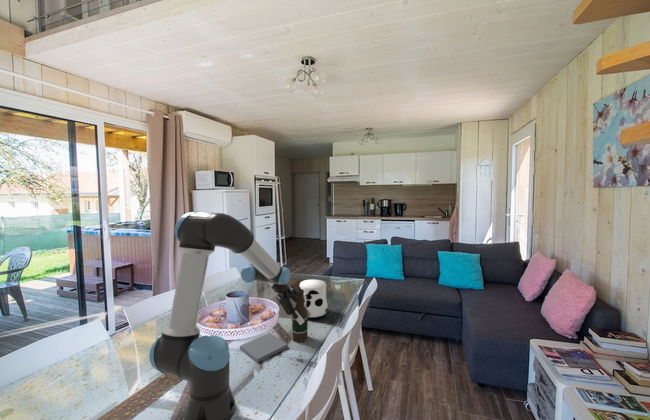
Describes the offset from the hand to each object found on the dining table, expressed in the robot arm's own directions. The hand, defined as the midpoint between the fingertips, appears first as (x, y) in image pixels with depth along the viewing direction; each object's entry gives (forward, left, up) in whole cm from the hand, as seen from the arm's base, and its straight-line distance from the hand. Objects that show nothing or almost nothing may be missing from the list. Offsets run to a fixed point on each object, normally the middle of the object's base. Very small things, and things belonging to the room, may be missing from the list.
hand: (306, 319), depth 133 cm
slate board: (-18, +8, -10) cm, 22 cm away
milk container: (+22, +18, -10) cm, 30 cm away
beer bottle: (-1, +3, -10) cm, 11 cm away
